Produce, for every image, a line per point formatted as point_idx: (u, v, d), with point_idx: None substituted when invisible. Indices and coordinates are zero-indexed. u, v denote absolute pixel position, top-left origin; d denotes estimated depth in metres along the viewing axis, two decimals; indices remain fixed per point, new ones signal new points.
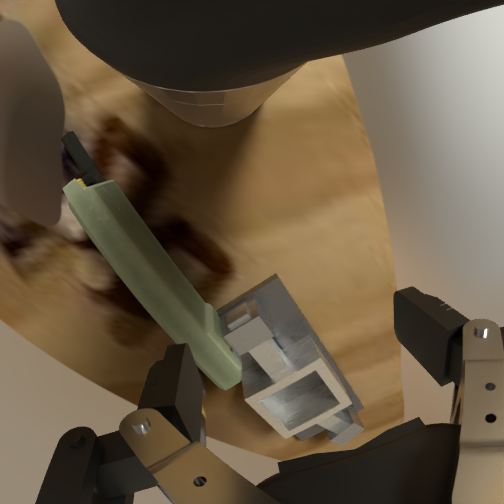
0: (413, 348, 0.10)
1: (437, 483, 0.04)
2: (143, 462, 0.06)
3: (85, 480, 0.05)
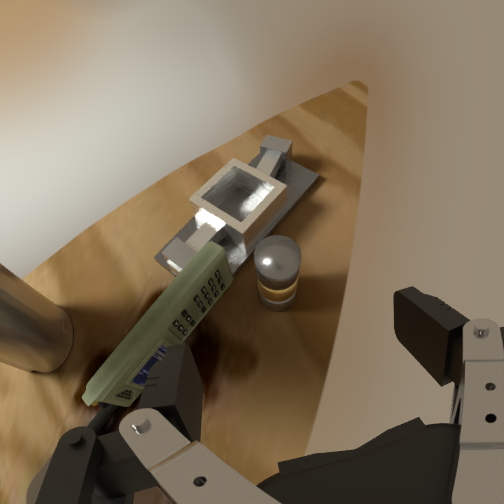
0: (413, 348, 0.10)
1: (437, 483, 0.04)
2: (144, 462, 0.06)
3: (85, 480, 0.05)
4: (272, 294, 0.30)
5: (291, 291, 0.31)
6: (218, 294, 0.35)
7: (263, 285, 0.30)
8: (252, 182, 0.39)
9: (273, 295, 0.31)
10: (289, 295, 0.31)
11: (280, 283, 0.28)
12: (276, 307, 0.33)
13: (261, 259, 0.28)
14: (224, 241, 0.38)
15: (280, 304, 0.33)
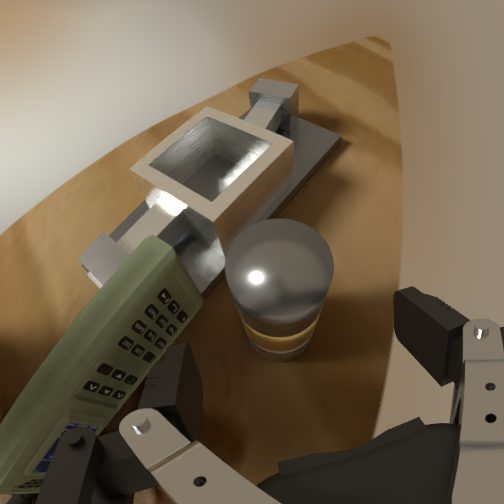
0: (413, 348, 0.10)
1: (437, 483, 0.04)
2: (143, 462, 0.06)
3: (85, 480, 0.05)
4: (269, 342, 0.15)
5: (307, 334, 0.15)
6: (175, 330, 0.19)
7: (250, 326, 0.14)
8: (236, 141, 0.23)
9: (271, 344, 0.15)
10: (303, 340, 0.16)
11: (286, 327, 0.12)
12: (277, 357, 0.18)
13: (241, 274, 0.12)
14: (189, 238, 0.22)
15: (285, 354, 0.17)
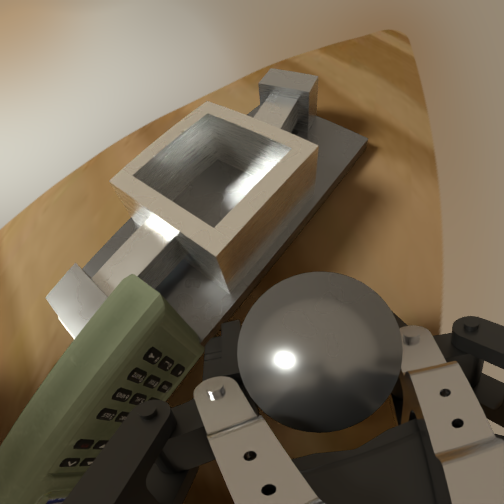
0: None
1: (423, 498, 0.04)
2: (207, 428, 0.07)
3: (146, 455, 0.06)
4: None
5: None
6: (170, 385, 0.15)
7: None
8: (244, 144, 0.18)
9: None
10: None
11: None
12: None
13: (264, 366, 0.07)
14: (185, 268, 0.18)
15: None
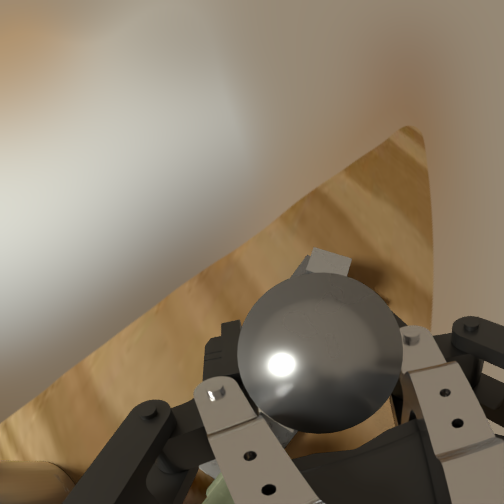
0: None
1: (423, 498, 0.04)
2: (206, 428, 0.07)
3: (146, 455, 0.06)
4: None
5: None
6: None
7: None
8: None
9: None
10: None
11: None
12: None
13: (264, 368, 0.07)
14: (261, 415, 0.26)
15: None
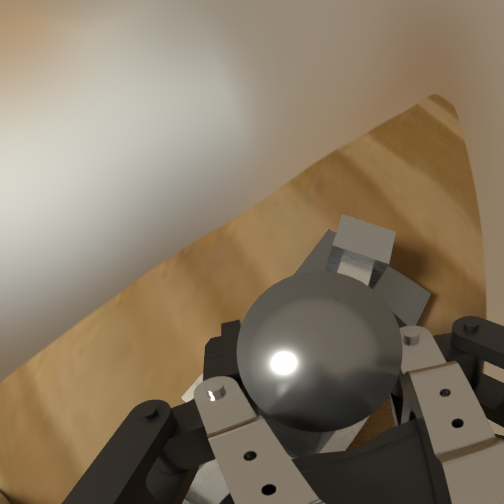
0: None
1: (422, 498, 0.04)
2: (207, 428, 0.07)
3: (146, 455, 0.06)
4: None
5: None
6: None
7: None
8: None
9: None
10: None
11: None
12: None
13: (264, 366, 0.07)
14: None
15: None
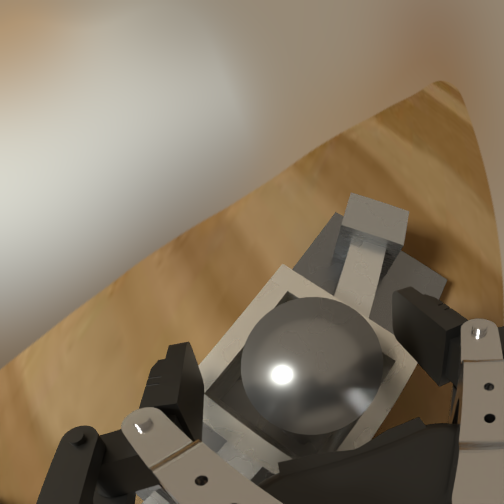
0: (411, 348, 0.10)
1: (437, 483, 0.04)
2: (146, 461, 0.06)
3: (87, 479, 0.05)
4: None
5: None
6: None
7: None
8: None
9: None
10: None
11: None
12: None
13: (264, 379, 0.08)
14: None
15: None
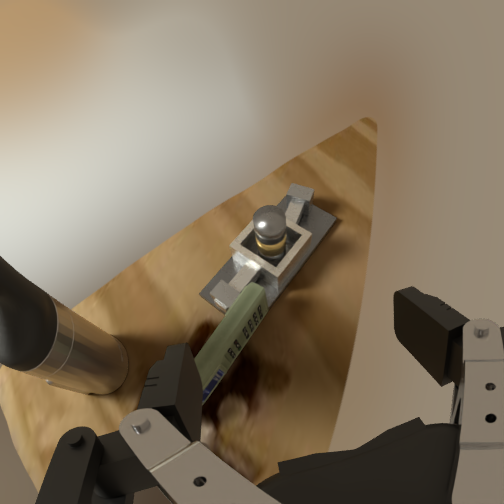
0: (413, 348, 0.10)
1: (437, 483, 0.04)
2: (143, 462, 0.06)
3: (85, 480, 0.05)
4: (267, 249, 0.42)
5: (281, 247, 0.43)
6: (258, 323, 0.43)
7: (260, 242, 0.41)
8: None
9: (268, 250, 0.42)
10: (280, 251, 0.43)
11: (272, 238, 0.40)
12: (271, 262, 0.45)
13: (258, 221, 0.39)
14: (259, 280, 0.45)
15: (274, 259, 0.44)
